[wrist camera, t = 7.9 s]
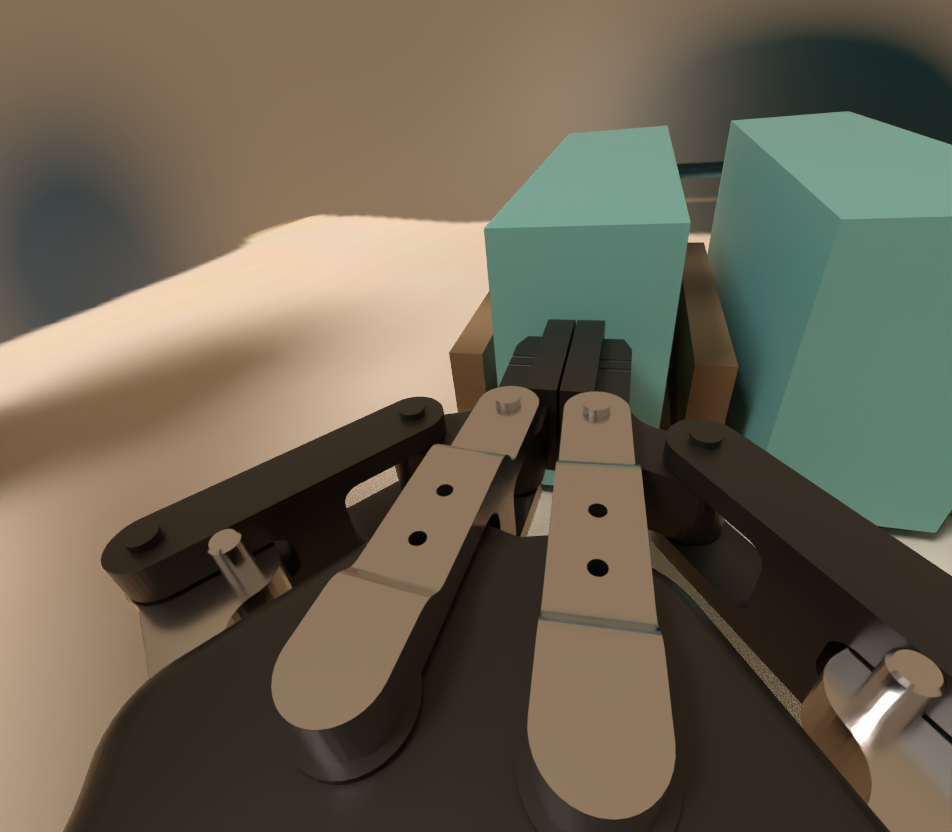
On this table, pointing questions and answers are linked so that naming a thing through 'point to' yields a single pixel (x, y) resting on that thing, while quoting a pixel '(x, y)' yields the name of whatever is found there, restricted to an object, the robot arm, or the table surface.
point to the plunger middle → (842, 307)
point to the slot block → (691, 361)
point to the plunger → (595, 252)
